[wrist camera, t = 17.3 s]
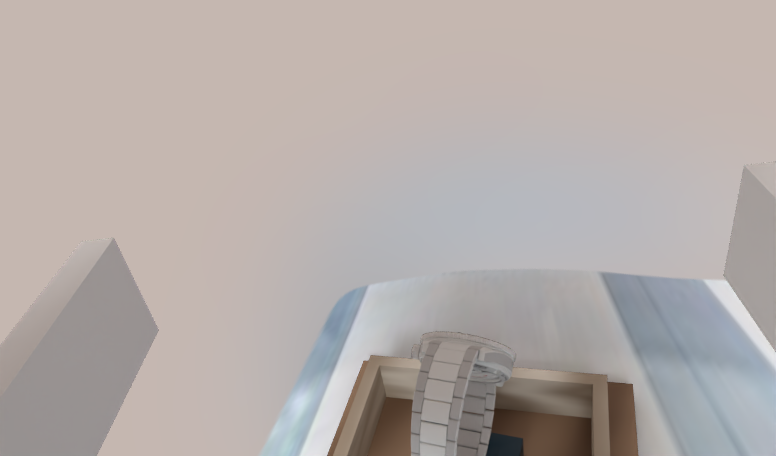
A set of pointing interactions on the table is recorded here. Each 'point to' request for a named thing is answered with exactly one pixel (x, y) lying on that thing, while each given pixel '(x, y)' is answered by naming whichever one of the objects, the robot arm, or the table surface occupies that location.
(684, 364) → the table surface
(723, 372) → the table surface
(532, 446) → the board
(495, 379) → the watch
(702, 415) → the table surface
